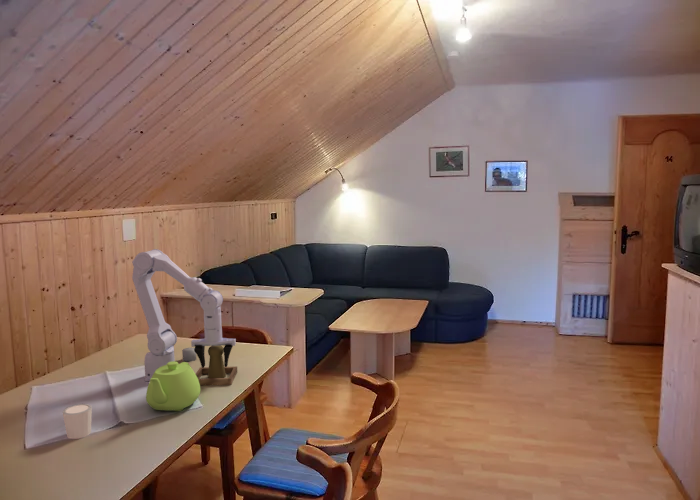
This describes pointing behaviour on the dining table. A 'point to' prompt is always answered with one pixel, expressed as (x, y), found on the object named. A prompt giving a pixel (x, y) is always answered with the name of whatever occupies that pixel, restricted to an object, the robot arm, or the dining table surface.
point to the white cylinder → (78, 421)
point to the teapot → (173, 387)
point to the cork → (216, 362)
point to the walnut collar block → (216, 380)
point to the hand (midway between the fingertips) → (214, 366)
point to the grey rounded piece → (189, 354)
